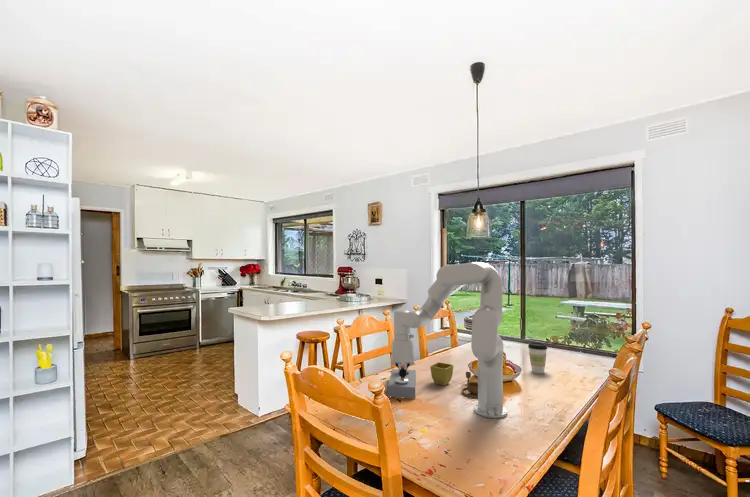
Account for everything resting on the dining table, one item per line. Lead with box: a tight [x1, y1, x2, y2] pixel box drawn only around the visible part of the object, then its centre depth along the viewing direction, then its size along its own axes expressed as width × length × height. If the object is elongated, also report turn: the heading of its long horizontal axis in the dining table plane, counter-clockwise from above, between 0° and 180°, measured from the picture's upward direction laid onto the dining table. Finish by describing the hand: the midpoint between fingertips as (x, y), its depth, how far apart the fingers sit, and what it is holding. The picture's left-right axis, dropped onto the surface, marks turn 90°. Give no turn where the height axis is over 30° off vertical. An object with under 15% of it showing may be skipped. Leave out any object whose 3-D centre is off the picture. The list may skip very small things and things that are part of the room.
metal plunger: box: [396, 377, 409, 384], centre depth 162 cm, size 6×6×6 cm
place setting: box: [461, 371, 478, 399], centre depth 165 cm, size 18×20×6 cm
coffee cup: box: [527, 342, 548, 374], centre depth 196 cm, size 10×10×15 cm
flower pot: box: [429, 361, 454, 386], centre depth 175 cm, size 9×9×9 cm
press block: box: [387, 368, 417, 399], centre depth 169 cm, size 26×12×5 cm, turn 173°
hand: (402, 377), depth 162 cm, fingers closed
